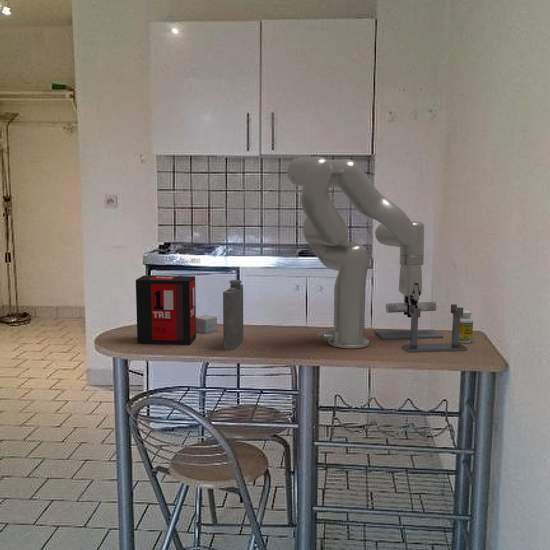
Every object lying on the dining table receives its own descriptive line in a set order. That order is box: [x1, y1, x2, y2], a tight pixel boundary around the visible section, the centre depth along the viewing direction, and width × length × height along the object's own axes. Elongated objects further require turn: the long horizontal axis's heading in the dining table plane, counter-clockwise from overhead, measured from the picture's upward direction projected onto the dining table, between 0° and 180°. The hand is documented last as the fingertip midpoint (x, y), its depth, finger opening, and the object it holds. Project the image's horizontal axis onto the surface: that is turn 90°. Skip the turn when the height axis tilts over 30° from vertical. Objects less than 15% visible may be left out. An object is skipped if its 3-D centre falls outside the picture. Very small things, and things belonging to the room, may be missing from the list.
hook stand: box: [401, 303, 468, 353], centre depth 192 cm, size 18×6×13 cm, turn 96°
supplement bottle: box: [459, 309, 474, 344], centre depth 202 cm, size 5×5×10 cm
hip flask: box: [222, 279, 244, 352], centre depth 196 cm, size 16×4×20 cm, turn 170°
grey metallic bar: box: [385, 301, 437, 314], centre depth 209 cm, size 16×3×3 cm, turn 96°
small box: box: [196, 314, 218, 335], centre depth 214 cm, size 6×6×5 cm
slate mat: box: [374, 329, 444, 340], centre depth 210 cm, size 20×9×1 cm, turn 96°
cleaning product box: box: [135, 275, 197, 346], centre depth 200 cm, size 16×9×20 cm, turn 85°
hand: (410, 315), depth 209 cm, fingers closed on grey metallic bar, 3 cm apart
